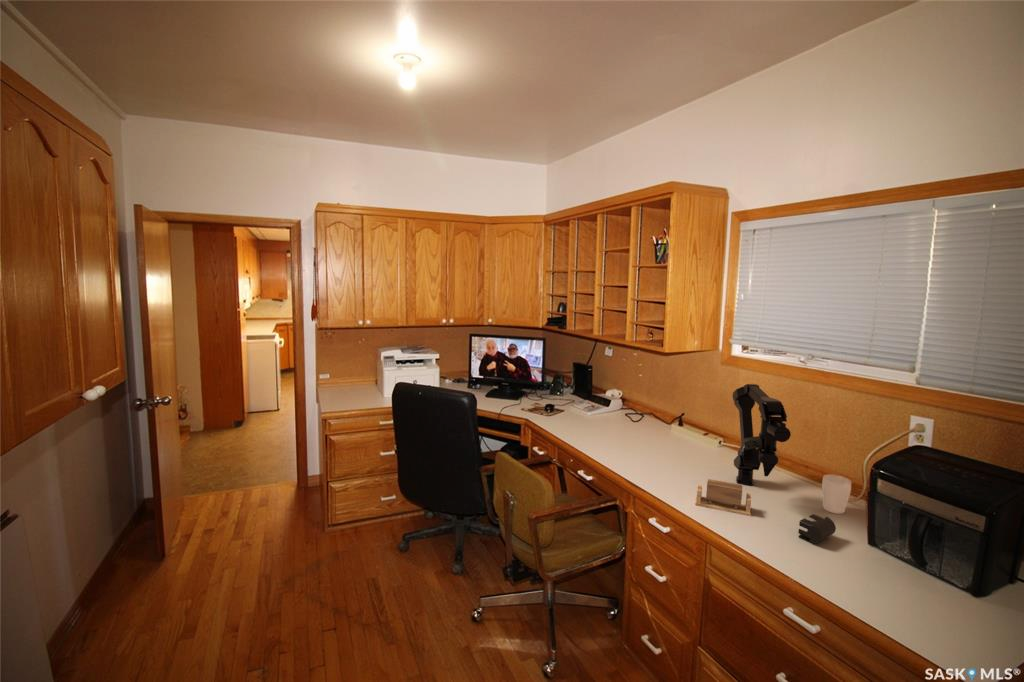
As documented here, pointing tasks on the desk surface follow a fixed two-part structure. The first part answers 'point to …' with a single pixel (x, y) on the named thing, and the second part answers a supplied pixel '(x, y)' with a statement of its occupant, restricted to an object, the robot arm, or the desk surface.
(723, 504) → the peg frame
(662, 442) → the desk surface
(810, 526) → the end cap
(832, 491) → the cup
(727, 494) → the brown rectangular block
